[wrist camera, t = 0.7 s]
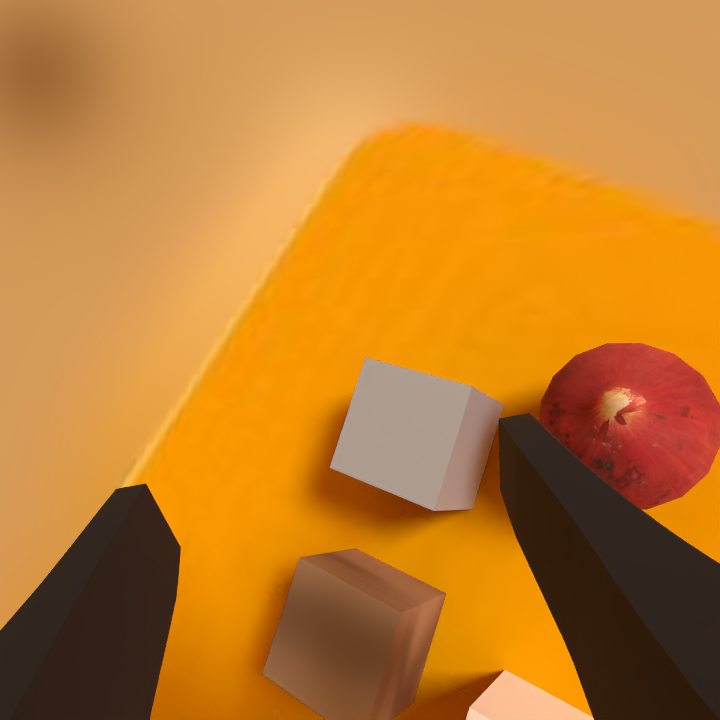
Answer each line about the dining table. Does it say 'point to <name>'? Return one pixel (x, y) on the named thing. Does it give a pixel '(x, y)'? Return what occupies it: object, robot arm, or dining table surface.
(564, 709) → the cream cube
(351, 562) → the walnut cube
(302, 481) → the dining table surface
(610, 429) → the onion
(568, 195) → the dining table surface
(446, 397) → the light grey cube
